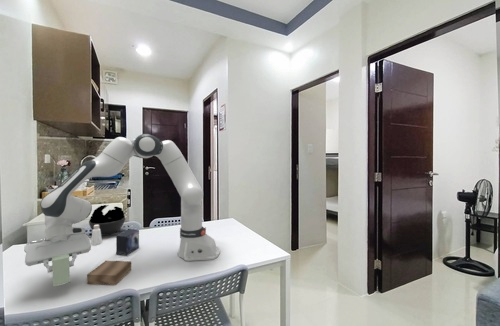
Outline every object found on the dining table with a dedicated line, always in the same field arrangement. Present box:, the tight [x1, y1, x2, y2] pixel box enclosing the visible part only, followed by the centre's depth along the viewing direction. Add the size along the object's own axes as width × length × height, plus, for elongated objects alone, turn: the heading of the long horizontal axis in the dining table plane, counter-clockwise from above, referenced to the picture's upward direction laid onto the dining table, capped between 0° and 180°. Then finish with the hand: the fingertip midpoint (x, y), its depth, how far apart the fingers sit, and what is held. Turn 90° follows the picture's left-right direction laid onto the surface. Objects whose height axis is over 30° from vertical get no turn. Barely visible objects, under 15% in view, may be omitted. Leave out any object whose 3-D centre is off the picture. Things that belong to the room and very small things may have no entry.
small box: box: [115, 228, 140, 256], centre depth 128 cm, size 11×6×10 cm, turn 168°
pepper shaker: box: [90, 225, 103, 246], centre depth 136 cm, size 5×5×11 cm
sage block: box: [51, 253, 71, 287], centre depth 90 cm, size 5×5×10 cm
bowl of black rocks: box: [88, 204, 126, 236], centre depth 151 cm, size 20×20×19 cm
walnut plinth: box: [86, 260, 132, 286], centre depth 103 cm, size 12×12×4 cm
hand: (61, 268), depth 90 cm, fingers closed on sage block, 5 cm apart
